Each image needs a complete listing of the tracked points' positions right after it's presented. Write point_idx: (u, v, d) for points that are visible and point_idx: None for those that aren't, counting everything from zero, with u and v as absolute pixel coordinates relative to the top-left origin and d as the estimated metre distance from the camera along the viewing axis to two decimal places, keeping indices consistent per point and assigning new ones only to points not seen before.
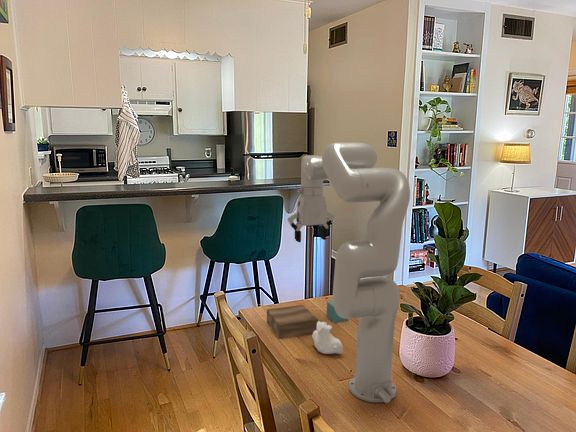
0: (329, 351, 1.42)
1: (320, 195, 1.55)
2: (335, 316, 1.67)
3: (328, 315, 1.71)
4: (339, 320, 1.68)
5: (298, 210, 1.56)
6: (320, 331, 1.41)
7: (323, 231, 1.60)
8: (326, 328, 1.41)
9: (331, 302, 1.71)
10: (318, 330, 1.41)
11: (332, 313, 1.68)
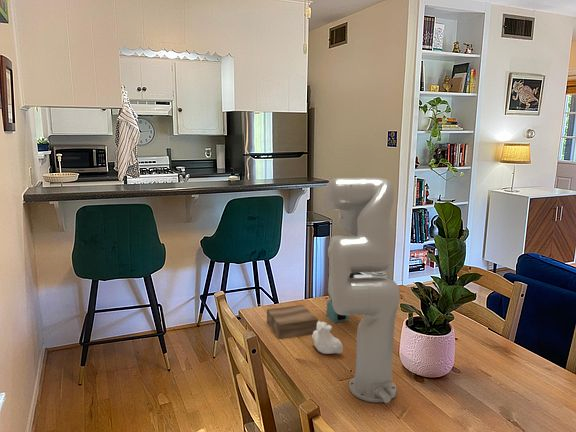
0: (329, 351, 1.42)
1: None
2: (335, 316, 1.67)
3: (328, 315, 1.71)
4: (339, 320, 1.68)
5: None
6: (320, 331, 1.41)
7: None
8: (326, 328, 1.41)
9: (331, 302, 1.71)
10: (318, 330, 1.41)
11: (332, 313, 1.68)
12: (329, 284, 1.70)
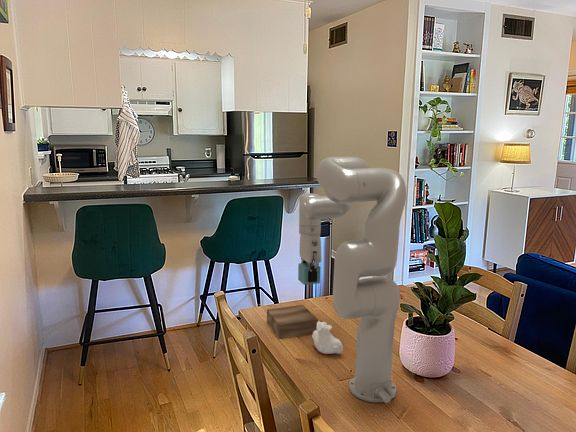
0: (329, 351, 1.42)
1: None
2: (306, 278, 1.58)
3: (299, 278, 1.63)
4: (310, 282, 1.59)
5: (315, 249, 1.55)
6: (320, 331, 1.41)
7: None
8: (326, 328, 1.41)
9: (302, 264, 1.62)
10: (318, 330, 1.41)
11: (303, 275, 1.59)
12: (300, 245, 1.62)
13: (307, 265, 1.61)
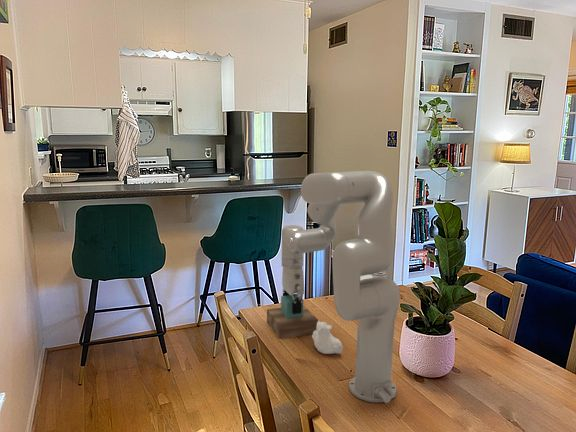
0: (329, 351, 1.42)
1: None
2: (288, 312, 1.58)
3: (282, 311, 1.62)
4: (293, 316, 1.58)
5: (298, 282, 1.55)
6: (320, 331, 1.41)
7: None
8: (326, 328, 1.41)
9: (285, 297, 1.61)
10: (318, 330, 1.41)
11: (285, 308, 1.58)
12: (283, 277, 1.61)
13: (290, 298, 1.60)
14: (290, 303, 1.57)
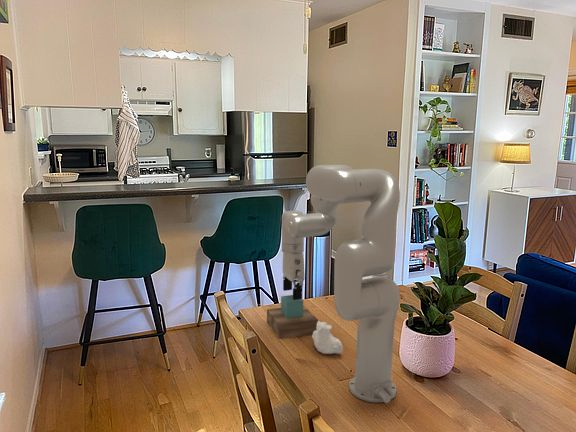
0: (329, 351, 1.42)
1: None
2: (288, 312, 1.58)
3: (282, 311, 1.62)
4: (293, 316, 1.58)
5: (298, 268, 1.53)
6: (320, 331, 1.41)
7: (290, 282, 1.64)
8: (326, 328, 1.41)
9: (285, 297, 1.61)
10: (318, 330, 1.41)
11: (285, 308, 1.58)
12: (283, 263, 1.60)
13: (290, 298, 1.60)
14: (290, 303, 1.57)
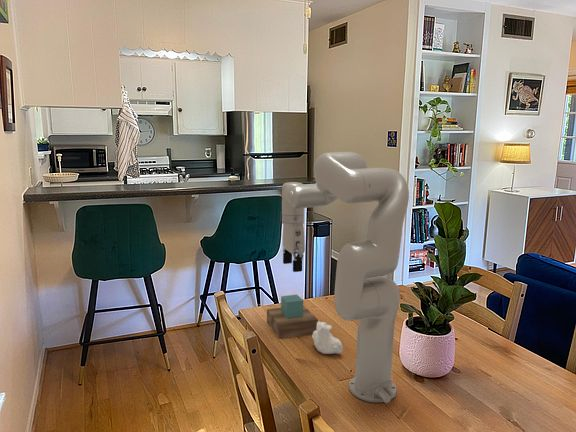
0: (329, 351, 1.42)
1: None
2: (288, 312, 1.58)
3: (282, 311, 1.62)
4: (293, 316, 1.58)
5: (298, 239, 1.52)
6: (320, 331, 1.41)
7: (290, 255, 1.62)
8: (326, 328, 1.41)
9: (285, 297, 1.61)
10: (318, 330, 1.41)
11: (285, 308, 1.58)
12: (283, 235, 1.58)
13: (290, 298, 1.60)
14: (290, 303, 1.57)
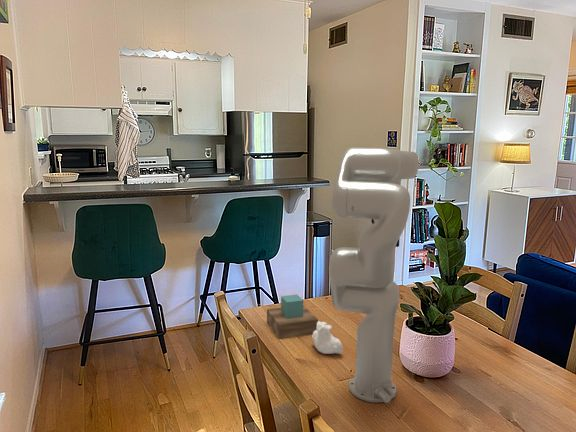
0: (329, 351, 1.42)
1: None
2: (288, 312, 1.58)
3: (282, 311, 1.62)
4: (293, 316, 1.58)
5: None
6: (320, 331, 1.41)
7: None
8: (326, 328, 1.41)
9: (285, 297, 1.61)
10: (318, 330, 1.41)
11: (285, 308, 1.58)
12: None
13: (290, 298, 1.60)
14: (290, 303, 1.57)
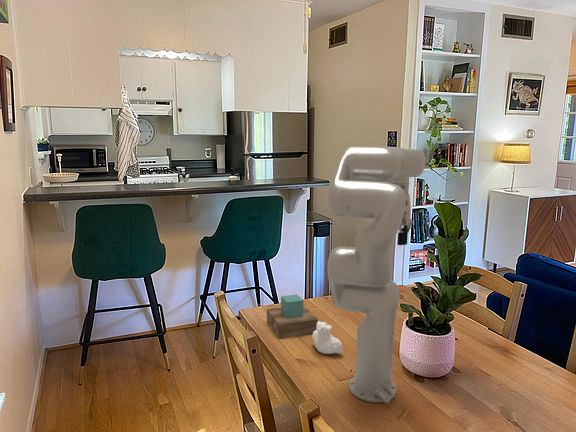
0: (329, 351, 1.42)
1: None
2: (288, 312, 1.58)
3: (282, 311, 1.62)
4: (293, 316, 1.58)
5: (405, 210, 1.40)
6: (320, 331, 1.41)
7: None
8: (326, 328, 1.41)
9: (285, 297, 1.61)
10: (318, 330, 1.41)
11: (285, 308, 1.58)
12: None
13: (290, 298, 1.60)
14: (290, 303, 1.57)
